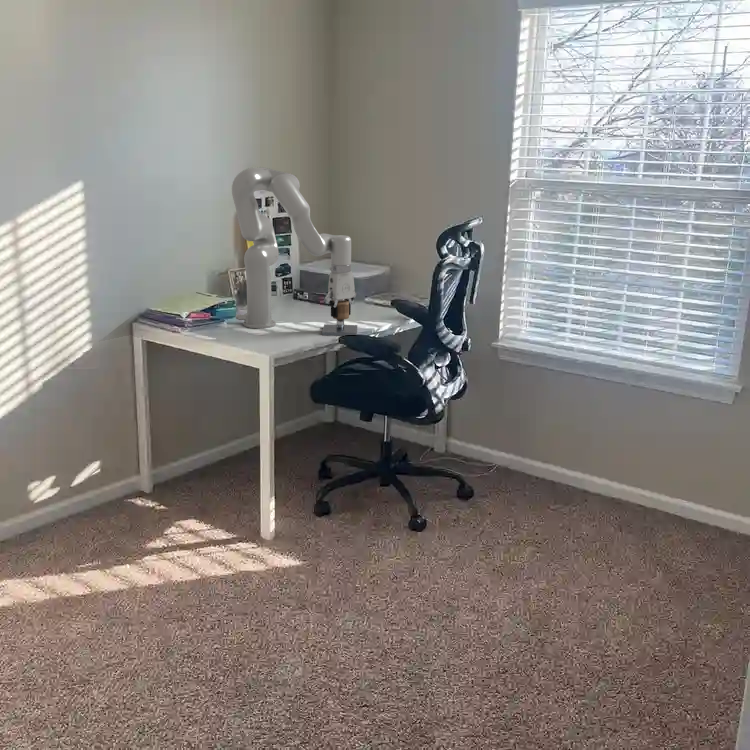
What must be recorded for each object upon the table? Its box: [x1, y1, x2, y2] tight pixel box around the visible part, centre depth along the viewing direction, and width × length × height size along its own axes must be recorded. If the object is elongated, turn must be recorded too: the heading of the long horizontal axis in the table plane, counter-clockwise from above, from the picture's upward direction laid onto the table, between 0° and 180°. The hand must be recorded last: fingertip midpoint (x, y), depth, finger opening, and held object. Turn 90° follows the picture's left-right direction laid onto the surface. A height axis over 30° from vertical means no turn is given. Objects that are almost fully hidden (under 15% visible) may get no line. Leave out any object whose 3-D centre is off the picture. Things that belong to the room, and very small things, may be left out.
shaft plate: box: [321, 319, 358, 337], centre depth 316 cm, size 13×13×6 cm
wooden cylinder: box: [332, 299, 350, 320], centre depth 314 cm, size 6×6×6 cm
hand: (340, 315), depth 315 cm, fingers closed on wooden cylinder, 6 cm apart
